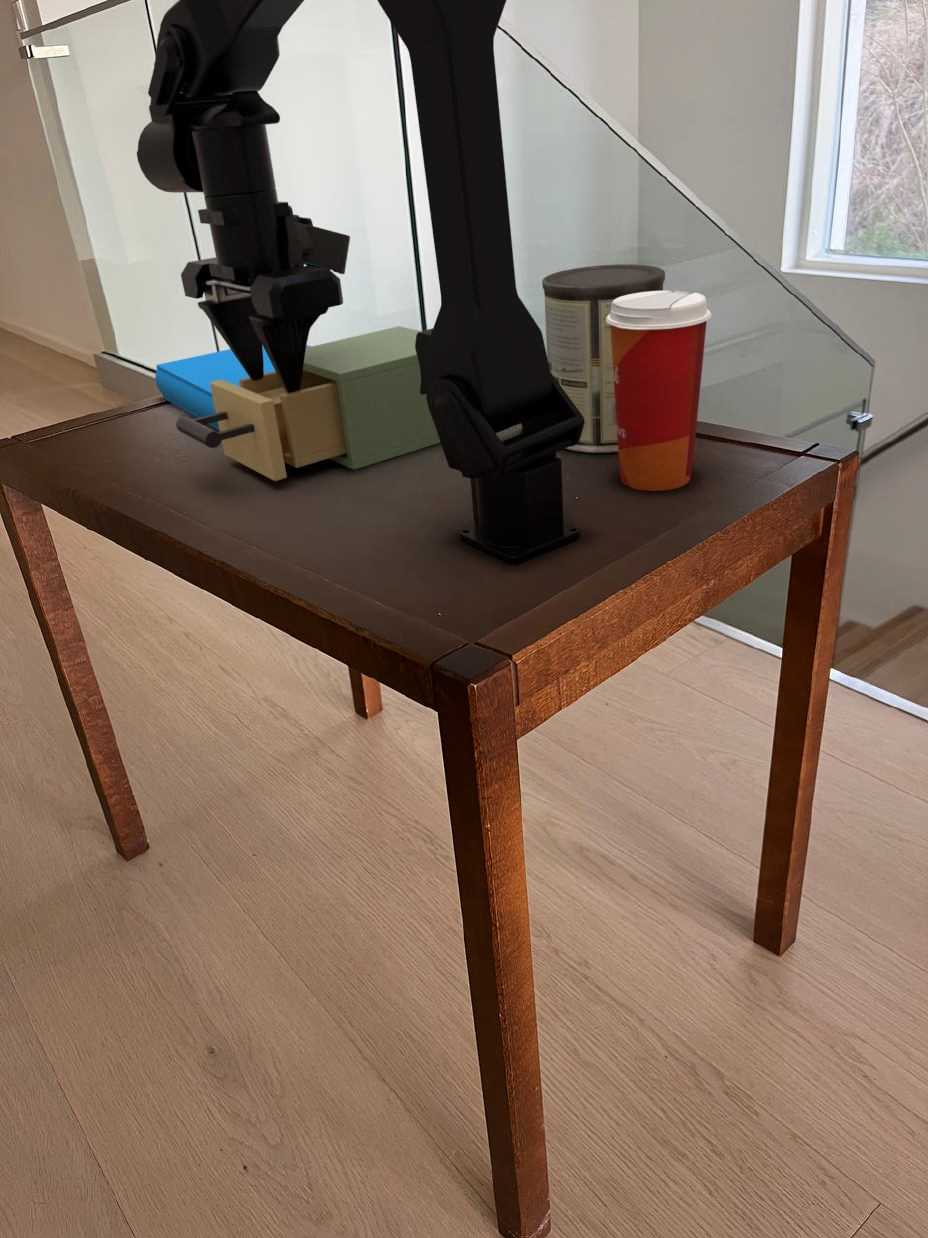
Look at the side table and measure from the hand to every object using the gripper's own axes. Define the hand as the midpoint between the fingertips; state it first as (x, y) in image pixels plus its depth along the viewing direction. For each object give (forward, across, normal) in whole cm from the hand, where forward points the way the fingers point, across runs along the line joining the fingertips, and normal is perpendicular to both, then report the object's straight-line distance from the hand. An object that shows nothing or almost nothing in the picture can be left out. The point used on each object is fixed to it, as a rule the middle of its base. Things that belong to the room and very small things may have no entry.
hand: (275, 385), depth 83 cm
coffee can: (+8, -16, -24) cm, 30 cm away
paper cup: (+8, -27, -19) cm, 34 cm away
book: (+8, +21, -8) cm, 24 cm away
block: (+5, 0, 0) cm, 5 cm away
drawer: (+6, 0, 0) cm, 6 cm away
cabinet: (+7, 0, -10) cm, 13 cm away
